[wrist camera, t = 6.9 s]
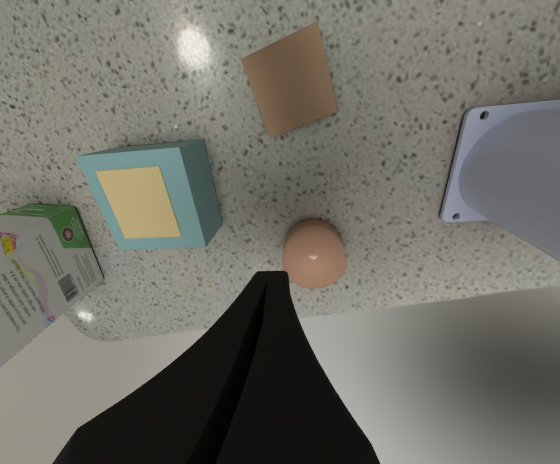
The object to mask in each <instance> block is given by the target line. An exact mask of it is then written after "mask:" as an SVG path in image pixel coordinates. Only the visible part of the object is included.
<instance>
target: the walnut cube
mask: <svg viewBox="0 0 560 464" xmlns="http://www.w3.org/2000/svg"><path fill="white" fill-rule="evenodd" d="M241 61H242V63H243V66H244V69H245V72H246V75H247V77H248V80H249V83H250V86H251V88H252V91H253V94H254V97H255V100H256V102H257V105H258V108H259V111H260V113H261V116H262V119H263V122H264V125H265V127H266V130H267V133H268V136H269V138H272V137H274V136H277V135H280V134H282V133H285V132H287V131H290V130H292V129H295V128H298V127H300V126H303V125H305V124H308V123H310V122H313V121H315V120H318V119H321V118H323V117H326V116H328V115H331V114H333V113H336V112H338V108H337V104H336V100H335V95H334V91H333V87H332V82H331V78H330V74H329V69H328V65H327V60H326V56H325V52H324V47H323V43H322V39H321V34H320V30H319V26H318V21H317V22H315V23H313V24H311V25H309V26H307V27H305V28H303V29H301V30H299V31H297V32H295V33H293V34H291V35H289V36H287V37H285V38H283V39H281V40H279V41H277V42H275V43H272V44H270V45H268V46H266V47H264V48H262V49H260V50H258V51H256V52H254V53H252V54H250V55H248V56H246V57H244V58H242V59H241Z"/></svg>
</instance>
